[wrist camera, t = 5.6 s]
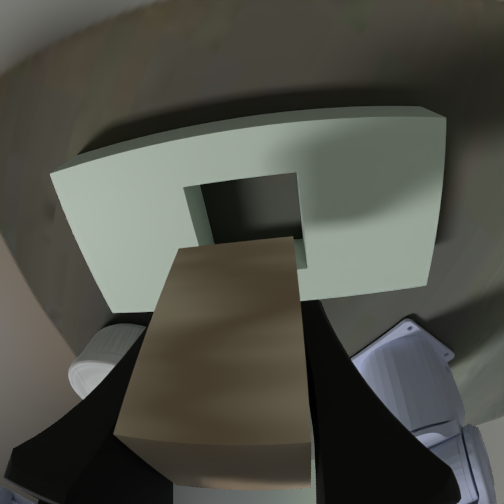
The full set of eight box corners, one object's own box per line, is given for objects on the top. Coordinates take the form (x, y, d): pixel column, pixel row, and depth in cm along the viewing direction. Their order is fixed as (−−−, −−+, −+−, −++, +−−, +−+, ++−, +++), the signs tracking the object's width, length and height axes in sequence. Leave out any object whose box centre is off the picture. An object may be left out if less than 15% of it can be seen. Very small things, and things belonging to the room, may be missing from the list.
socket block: (420, 106, 14) (446, 117, 12) (410, 257, 20) (426, 285, 17) (76, 155, 17) (49, 173, 14) (126, 284, 22) (112, 312, 20)
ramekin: (203, 395, 31) (196, 439, 26) (103, 375, 30) (88, 415, 26) (204, 323, 24) (193, 380, 20) (76, 301, 24) (50, 348, 20)
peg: (292, 236, 11) (311, 442, 5) (300, 319, 13) (310, 488, 7) (178, 248, 11) (113, 434, 5) (205, 326, 13) (176, 485, 8)
